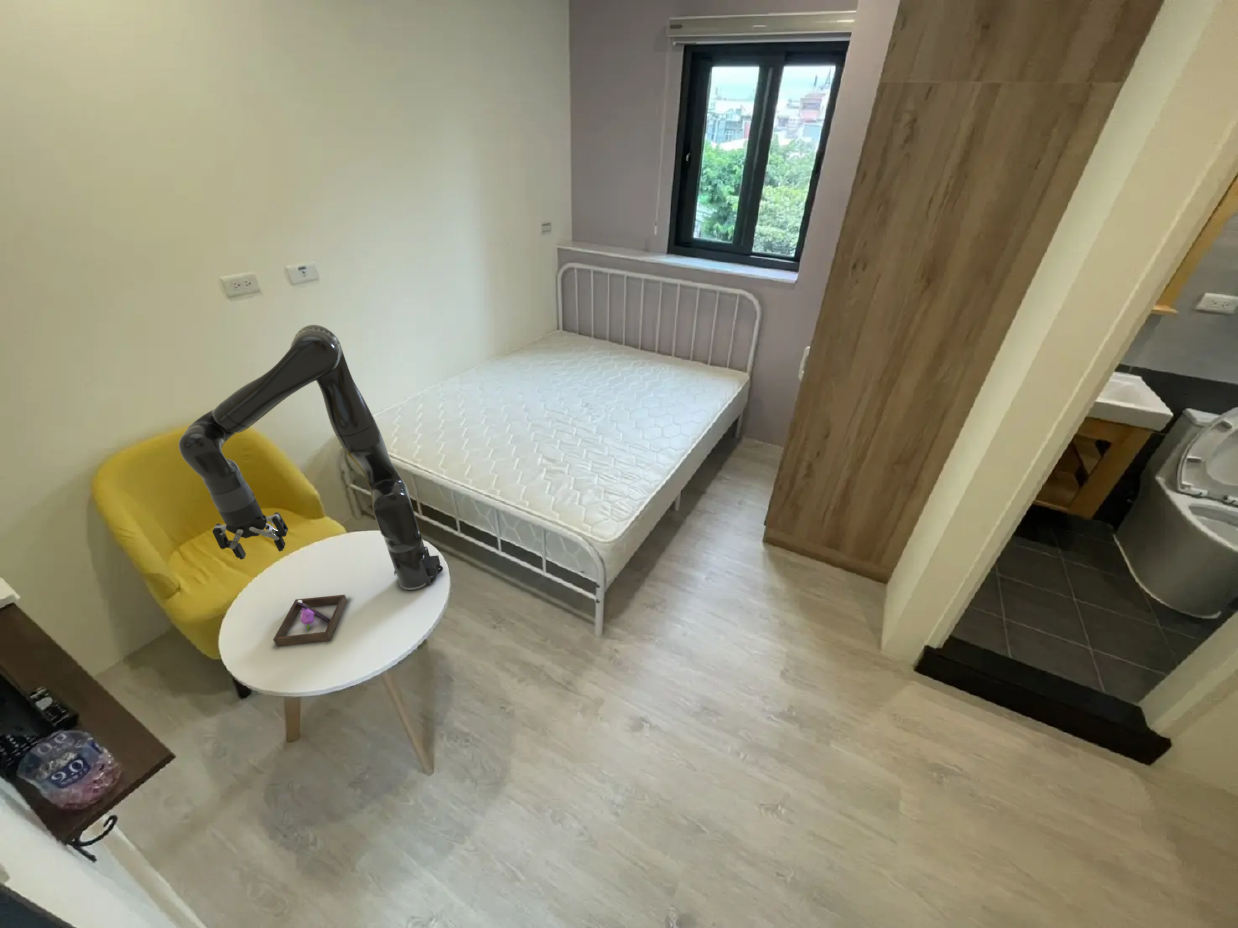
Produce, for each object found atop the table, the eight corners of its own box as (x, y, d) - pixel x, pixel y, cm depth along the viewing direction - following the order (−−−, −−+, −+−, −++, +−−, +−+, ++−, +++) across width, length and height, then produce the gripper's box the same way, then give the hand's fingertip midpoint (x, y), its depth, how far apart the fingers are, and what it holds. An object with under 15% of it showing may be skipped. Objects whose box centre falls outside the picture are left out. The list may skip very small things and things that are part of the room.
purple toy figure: (319, 608, 131) (296, 597, 135) (304, 626, 129) (281, 615, 132) (334, 619, 136) (312, 608, 140) (320, 636, 134) (298, 625, 137)
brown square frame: (347, 601, 142) (344, 594, 141) (330, 640, 131) (327, 633, 130) (298, 605, 141) (295, 599, 140) (276, 646, 130) (272, 639, 128)
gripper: (194, 517, 114) (226, 570, 123) (266, 503, 118) (291, 556, 127) (205, 498, 120) (234, 550, 129) (273, 486, 124) (297, 537, 133)
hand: (262, 553), depth 128 cm, fingers open, 8 cm apart
